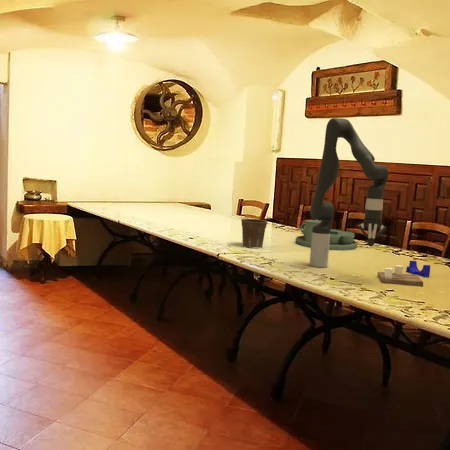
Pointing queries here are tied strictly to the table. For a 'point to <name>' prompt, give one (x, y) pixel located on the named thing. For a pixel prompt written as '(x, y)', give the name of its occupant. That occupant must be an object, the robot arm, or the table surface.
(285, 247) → the table surface
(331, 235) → the green tea tray
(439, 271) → the table surface
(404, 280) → the switch board
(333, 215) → the robot arm
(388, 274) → the tab
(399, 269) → the tab
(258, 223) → the plant pot
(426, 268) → the cable clip
